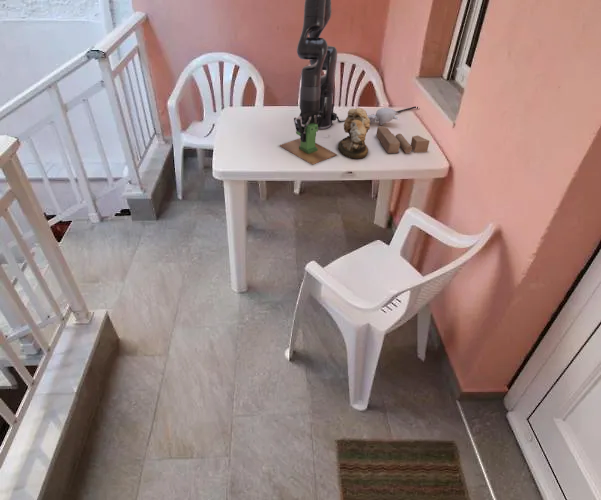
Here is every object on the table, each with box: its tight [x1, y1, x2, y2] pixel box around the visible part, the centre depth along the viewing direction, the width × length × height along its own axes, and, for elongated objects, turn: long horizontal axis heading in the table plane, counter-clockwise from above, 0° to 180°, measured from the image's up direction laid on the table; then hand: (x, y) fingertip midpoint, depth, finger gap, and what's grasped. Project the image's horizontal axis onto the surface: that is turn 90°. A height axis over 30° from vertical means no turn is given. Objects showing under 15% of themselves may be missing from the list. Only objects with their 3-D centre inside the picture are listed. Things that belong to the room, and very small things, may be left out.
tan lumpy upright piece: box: [337, 107, 371, 160], centre depth 164 cm, size 18×12×17 cm, turn 11°
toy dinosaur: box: [295, 123, 319, 154], centre depth 163 cm, size 11×5×12 cm
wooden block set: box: [375, 125, 430, 154], centre depth 173 cm, size 17×6×18 cm
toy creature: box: [367, 107, 401, 126], centre depth 188 cm, size 13×7×20 cm
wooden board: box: [279, 138, 337, 165], centre depth 167 cm, size 13×20×1 cm, turn 40°
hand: (308, 139), depth 164 cm, fingers closed on toy dinosaur, 4 cm apart
